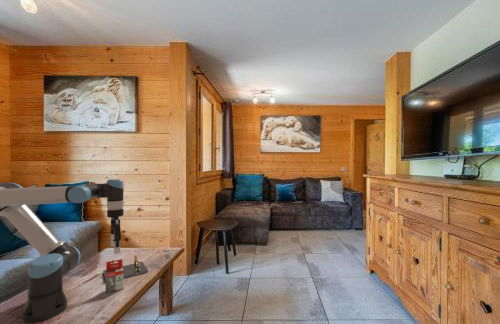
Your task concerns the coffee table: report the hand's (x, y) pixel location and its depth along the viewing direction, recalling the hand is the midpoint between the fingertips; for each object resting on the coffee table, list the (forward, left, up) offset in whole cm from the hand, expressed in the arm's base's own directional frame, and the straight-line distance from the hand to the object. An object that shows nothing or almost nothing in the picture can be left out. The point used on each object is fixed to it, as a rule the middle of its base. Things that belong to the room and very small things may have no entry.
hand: (115, 249), depth 123 cm
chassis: (+8, +19, -21) cm, 29 cm away
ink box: (0, 0, -21) cm, 21 cm away
